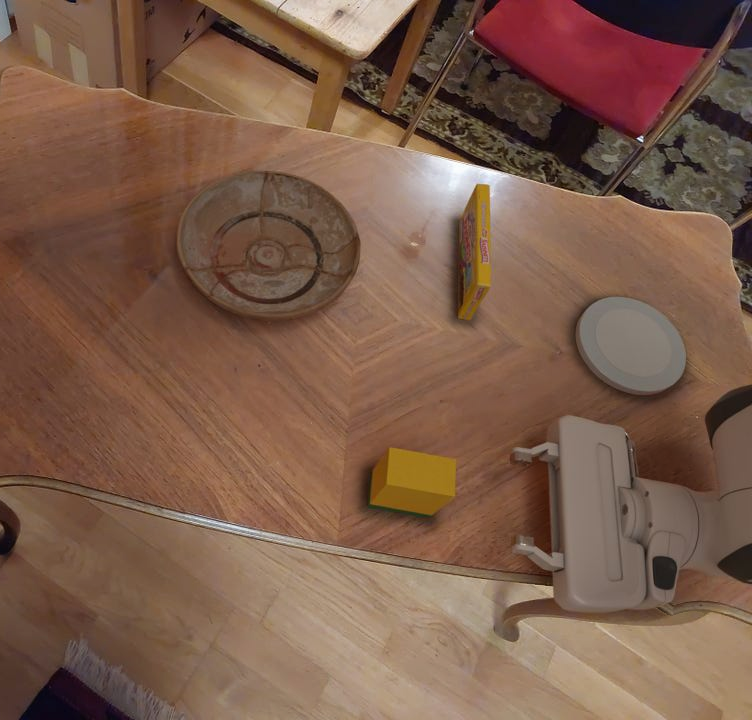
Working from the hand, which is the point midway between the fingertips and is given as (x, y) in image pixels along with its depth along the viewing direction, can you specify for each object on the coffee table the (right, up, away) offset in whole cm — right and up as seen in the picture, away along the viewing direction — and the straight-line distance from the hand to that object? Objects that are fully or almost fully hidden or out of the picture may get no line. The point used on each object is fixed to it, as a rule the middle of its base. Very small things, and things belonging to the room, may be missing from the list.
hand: (512, 497), depth 68 cm
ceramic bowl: (-26, +28, +19) cm, 42 cm away
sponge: (-11, -1, +6) cm, 12 cm away
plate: (+22, +16, +18) cm, 32 cm away
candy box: (+1, +27, +21) cm, 34 cm away
